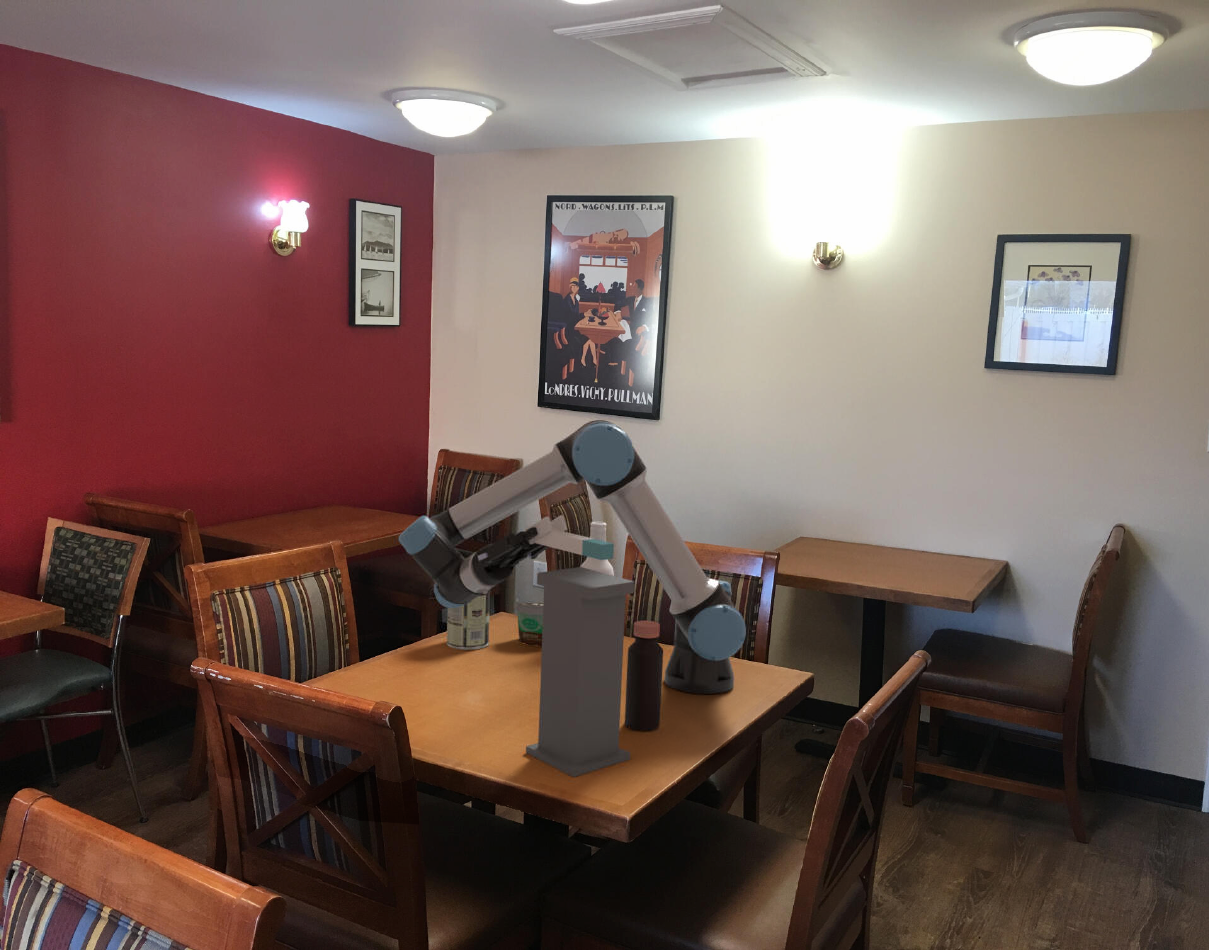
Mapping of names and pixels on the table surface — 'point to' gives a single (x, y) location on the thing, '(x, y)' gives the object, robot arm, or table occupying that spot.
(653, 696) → the bottle
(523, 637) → the food container
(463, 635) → the coffee can
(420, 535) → the robot arm
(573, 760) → the shelf stand
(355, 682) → the table surface
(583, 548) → the beige teal square bar
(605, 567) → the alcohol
